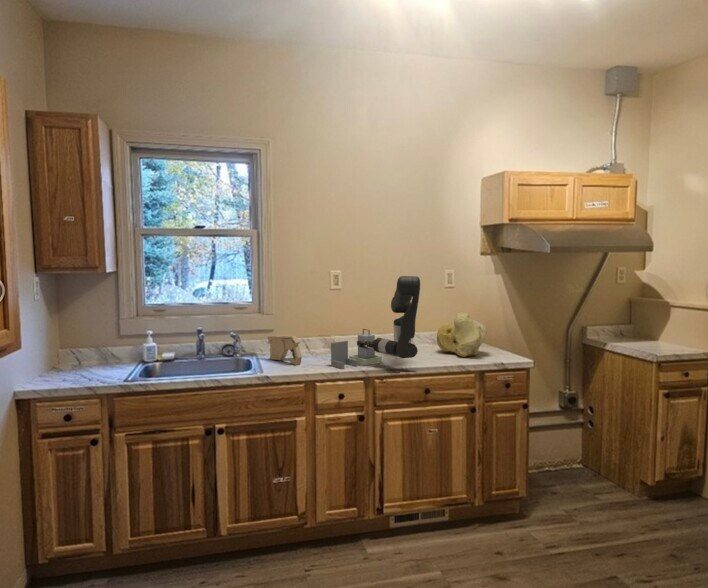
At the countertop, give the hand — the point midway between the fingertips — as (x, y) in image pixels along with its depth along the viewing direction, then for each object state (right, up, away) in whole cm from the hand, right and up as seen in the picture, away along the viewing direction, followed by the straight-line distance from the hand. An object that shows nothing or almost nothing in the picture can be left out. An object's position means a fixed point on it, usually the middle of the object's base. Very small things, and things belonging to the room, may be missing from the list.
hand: (363, 341), depth 269 cm
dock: (-10, -11, -11) cm, 19 cm away
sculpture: (+56, -9, +19) cm, 60 cm away
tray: (+1, -11, 0) cm, 11 cm away
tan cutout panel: (-42, -11, +1) cm, 44 cm away
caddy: (+1, -10, -1) cm, 10 cm away
